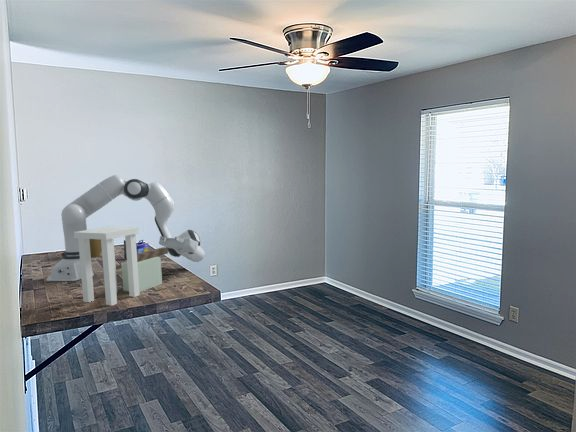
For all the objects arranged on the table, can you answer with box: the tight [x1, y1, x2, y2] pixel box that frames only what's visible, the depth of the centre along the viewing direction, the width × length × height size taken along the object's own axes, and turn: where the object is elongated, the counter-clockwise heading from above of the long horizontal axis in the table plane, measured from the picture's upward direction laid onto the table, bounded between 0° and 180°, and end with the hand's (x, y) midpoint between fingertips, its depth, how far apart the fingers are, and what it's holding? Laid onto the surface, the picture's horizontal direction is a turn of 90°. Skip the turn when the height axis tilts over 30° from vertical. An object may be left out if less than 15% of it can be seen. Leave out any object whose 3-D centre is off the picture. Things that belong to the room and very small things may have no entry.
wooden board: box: [137, 246, 169, 262], centre depth 210 cm, size 24×3×3 cm, turn 156°
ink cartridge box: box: [136, 239, 150, 254], centre depth 259 cm, size 10×6×14 cm, turn 158°
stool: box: [74, 226, 141, 307], centre depth 188 cm, size 18×18×30 cm
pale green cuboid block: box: [120, 256, 163, 293], centre depth 206 cm, size 16×9×13 cm, turn 156°
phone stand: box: [123, 240, 127, 261], centre depth 278 cm, size 9×6×12 cm, turn 29°
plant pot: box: [89, 239, 102, 258], centre depth 290 cm, size 15×15×16 cm
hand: (168, 237), depth 223 cm, fingers open, 8 cm apart
